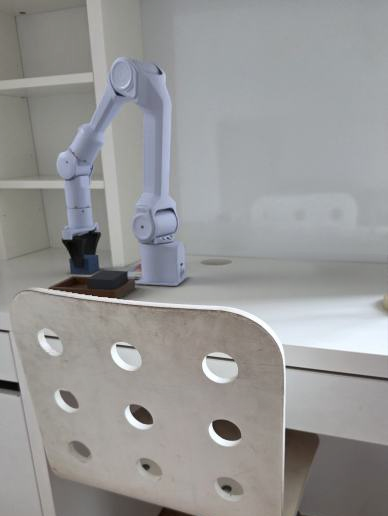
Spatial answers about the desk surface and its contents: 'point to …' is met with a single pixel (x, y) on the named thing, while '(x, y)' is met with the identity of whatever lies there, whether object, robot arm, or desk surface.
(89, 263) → the navy blue cube
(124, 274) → the charcoal pad
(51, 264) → the desk surface
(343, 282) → the desk surface
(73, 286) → the pad tray
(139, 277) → the smartphone
